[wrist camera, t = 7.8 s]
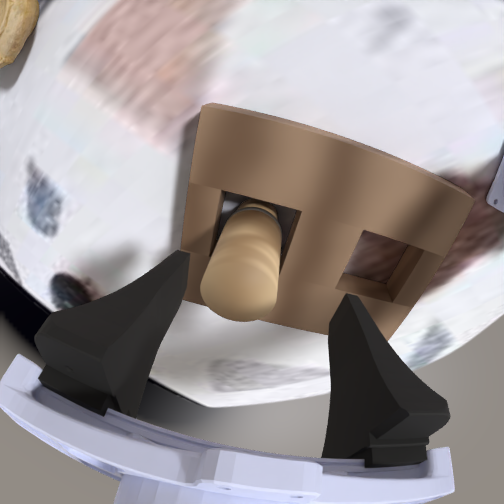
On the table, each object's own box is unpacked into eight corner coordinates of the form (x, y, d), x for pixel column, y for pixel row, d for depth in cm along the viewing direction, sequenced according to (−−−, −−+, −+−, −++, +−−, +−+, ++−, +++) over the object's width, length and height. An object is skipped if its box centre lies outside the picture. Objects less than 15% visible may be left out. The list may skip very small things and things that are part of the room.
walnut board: (460, 187, 19) (475, 199, 16) (379, 327, 27) (384, 345, 25) (212, 102, 18) (201, 105, 16) (184, 280, 27) (176, 297, 25)
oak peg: (289, 201, 22) (287, 276, 14) (274, 245, 24) (264, 328, 16) (237, 186, 21) (206, 253, 14) (226, 231, 24) (195, 310, 16)
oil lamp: (44, -64, 7) (12, -70, 3) (81, 3, 14) (41, -3, 9) (-13, 7, 11) (-44, 10, 7) (15, 82, 17) (-22, 92, 13)
